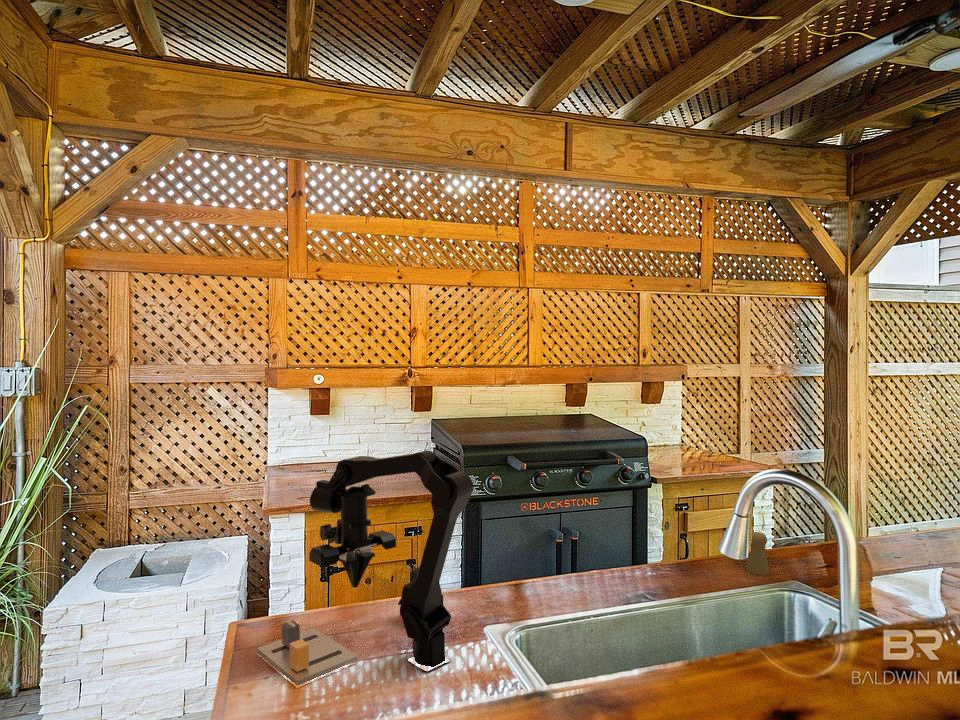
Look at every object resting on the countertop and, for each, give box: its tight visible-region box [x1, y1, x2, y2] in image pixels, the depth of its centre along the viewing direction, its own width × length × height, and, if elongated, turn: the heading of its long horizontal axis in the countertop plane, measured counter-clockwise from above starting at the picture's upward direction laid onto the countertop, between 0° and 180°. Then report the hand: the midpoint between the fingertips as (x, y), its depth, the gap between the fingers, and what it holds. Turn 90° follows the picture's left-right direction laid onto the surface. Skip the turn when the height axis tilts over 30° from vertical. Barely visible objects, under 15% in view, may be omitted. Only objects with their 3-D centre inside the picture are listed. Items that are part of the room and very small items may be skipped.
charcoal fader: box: [281, 619, 301, 648], centre depth 121 cm, size 3×2×4 cm
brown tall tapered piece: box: [745, 531, 770, 576], centre depth 164 cm, size 6×6×11 cm
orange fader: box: [290, 639, 309, 672], centre depth 111 cm, size 3×2×4 cm
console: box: [256, 627, 359, 685], centre depth 118 cm, size 18×13×2 cm
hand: (354, 586), depth 125 cm, fingers closed
